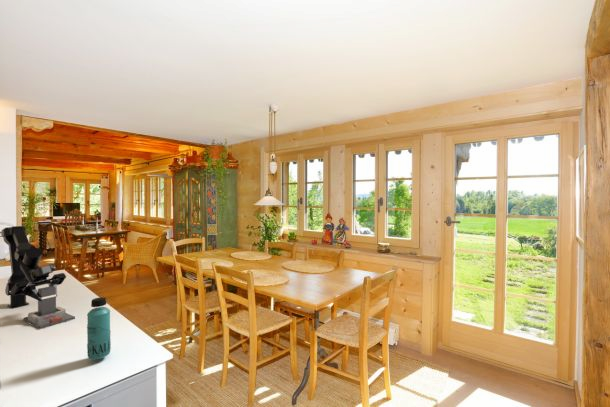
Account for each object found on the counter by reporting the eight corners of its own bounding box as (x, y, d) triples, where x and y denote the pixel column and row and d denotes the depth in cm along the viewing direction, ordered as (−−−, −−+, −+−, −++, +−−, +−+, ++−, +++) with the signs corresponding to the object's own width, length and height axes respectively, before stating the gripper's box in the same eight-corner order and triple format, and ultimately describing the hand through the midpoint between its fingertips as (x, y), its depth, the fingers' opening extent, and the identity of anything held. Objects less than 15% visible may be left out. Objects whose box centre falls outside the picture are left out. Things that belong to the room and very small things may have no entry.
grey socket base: (23, 320, 134) (23, 313, 134) (56, 311, 144) (56, 304, 144) (40, 329, 125) (40, 321, 125) (74, 318, 135) (74, 312, 135)
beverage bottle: (94, 354, 104) (93, 295, 104) (115, 353, 104) (114, 294, 104) (82, 365, 97) (81, 302, 97) (104, 364, 98) (103, 301, 98)
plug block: (37, 314, 134) (37, 288, 134) (52, 310, 139) (51, 286, 138) (41, 315, 132) (41, 290, 132) (56, 312, 137) (56, 287, 136)
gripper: (14, 263, 128) (31, 293, 124) (63, 255, 145) (79, 281, 141) (3, 280, 131) (19, 310, 127) (52, 270, 148) (68, 296, 144)
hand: (48, 298), depth 135 cm, fingers closed on plug block, 5 cm apart
